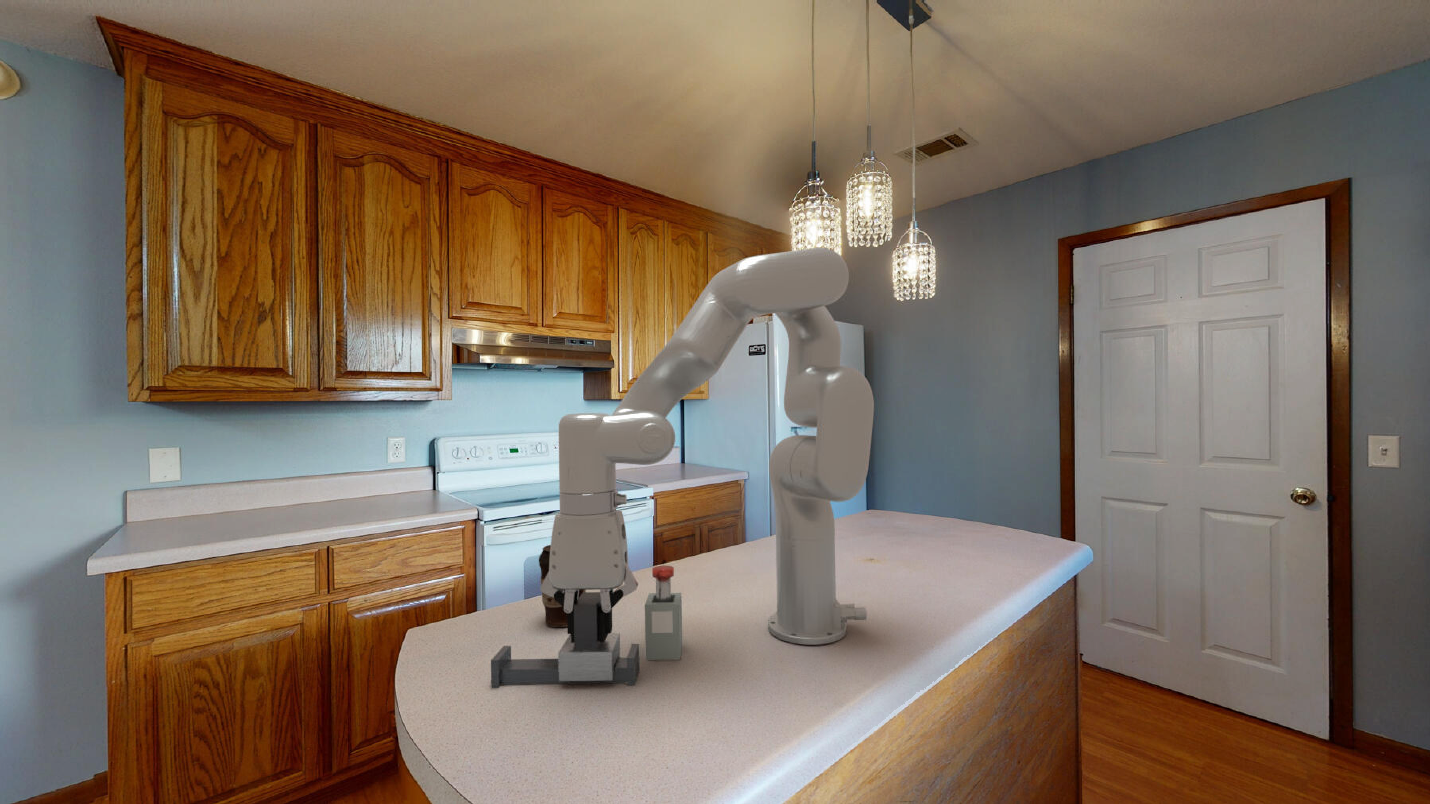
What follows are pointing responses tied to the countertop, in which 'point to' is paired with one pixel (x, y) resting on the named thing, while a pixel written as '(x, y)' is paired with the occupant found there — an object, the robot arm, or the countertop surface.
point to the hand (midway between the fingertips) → (590, 637)
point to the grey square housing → (663, 628)
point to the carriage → (588, 645)
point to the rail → (553, 670)
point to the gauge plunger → (663, 582)
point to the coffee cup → (552, 607)
